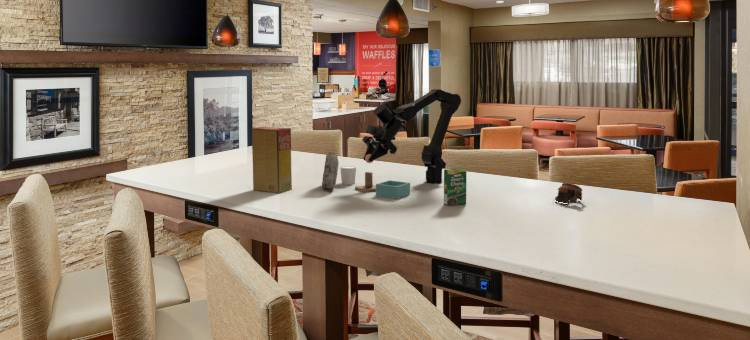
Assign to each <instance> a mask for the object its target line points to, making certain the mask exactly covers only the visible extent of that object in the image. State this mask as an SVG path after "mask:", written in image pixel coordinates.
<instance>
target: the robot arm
mask: <svg viewBox="0 0 750 340" xmlns="http://www.w3.org/2000/svg"><path fill="white" fill-rule="evenodd" d="M436 101H437V102H439V103H440V105H439V107H440V114H439V117H438V119H437V123H436V125H435V128H434V132H433V135H432V137H431V140H430V143H429V144H428V145H426V144H424V146H423V148H422V152H421V153H420V154H421V161H422V162H423V165H424V167H425V168H426V170H425V181H426V183H432V184H433V183H437V184H442V183H443V170H444V169H446V166H447V163H446V161H444V159H443V158H442V157H443V149H442V146H443V142H444V140H445V136H446V133H447V131H448V128H449V125H450V122H451V119H452V116H453V115H454V114H455V113H456V112H457V111H458V110H459V107H460V105H461V103H462V98H461V96H460V95H459V94H458V93H451V92H447V91H445V90H442V89H439V88H433V89H431V90H430V91H429V92H428V93H425V94H424V95H422V96H420V97H419V98H417V99H416V100H413V102H410V103H406V104H403V105H400V106H398V107H396V108H395V109H392V107H391V106H390V104H389V103H388V102H385V101H384V102H383V103H382V104H380V105H379V106H377V107H376V108H375V109H374V110H373V114H374V115H375V117H376V118H377V119H378V120H379V122H381V123H382V124H384V125H385V126H382V125H376V126H375V125H371V124H370V125H367V127H366V130H365V133H366V134H369V135H364V136H363V137H362V139H361V140H362V141H363V143H364V145H366V151H365V153H364V156H363V161H365V157H366V155H368V154H371V156H370V158H369V160H368V161H369V162H371V161H373V160H374V161H376V160H377V159H380V158H381V157H384V156H386V155H389V153H390V154H391V155H395V154H396V152H397V151H398V147H397V146H396V144H394V143H393V141H395V140H396V139H397V138H396V136H397V134H398V133H400V131H407V126H406V123H403V122H410V121H412V120H413V119H414V118H415V117H416V116H417V115H418V113H419V112H420V111H421V110H423V109H425V108H426V107H428V106H430V105H431V104H432V103H434V102H436ZM402 121H403V122H402ZM370 135H371V136H370ZM374 161H373V162H374Z"/></svg>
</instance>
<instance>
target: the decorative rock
mask: <svg viewBox="0 0 750 340" xmlns="http://www.w3.org/2000/svg"><path fill="white" fill-rule="evenodd" d="M323 168H324V169H323V174H322V182H321V187H322V189H323V190H333V189H335V186H336V185H337V177H338V171H339V157H338V154H337V153H335V152H333V151H327V153H326V156H325V161H324V167H323Z"/></svg>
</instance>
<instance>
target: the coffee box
mask: <svg viewBox="0 0 750 340" xmlns="http://www.w3.org/2000/svg"><path fill="white" fill-rule="evenodd" d="M443 205H445V206H446V207H448V206H450V207H451V206H457V205H467V168H465V167H456V168H444V169H443Z"/></svg>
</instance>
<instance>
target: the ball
mask: <svg viewBox="0 0 750 340" xmlns="http://www.w3.org/2000/svg"><path fill="white" fill-rule="evenodd" d="M370 156H371V154H368V155H366V157H365V160H364V161H365V162H366V163H368V164H372V163H373V162H374V161H375V160H373V161H371V162H369V161H368V160H369V158H370Z"/></svg>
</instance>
